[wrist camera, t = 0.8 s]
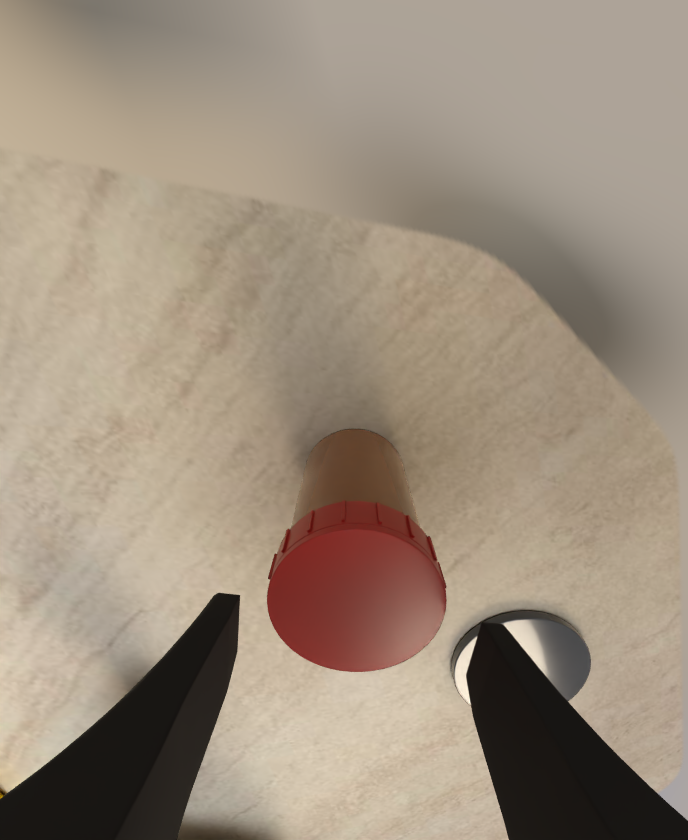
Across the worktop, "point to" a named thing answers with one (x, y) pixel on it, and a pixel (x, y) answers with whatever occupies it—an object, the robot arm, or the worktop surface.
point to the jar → (354, 474)
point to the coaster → (535, 650)
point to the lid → (356, 587)
